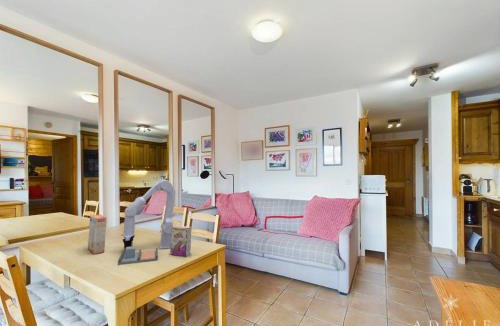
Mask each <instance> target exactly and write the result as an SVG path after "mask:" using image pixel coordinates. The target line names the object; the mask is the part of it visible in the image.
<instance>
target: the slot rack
mask: <svg viewBox="0 0 500 326" xmlns="http://www.w3.org/2000/svg"><path fill="white" fill-rule="evenodd" d="M158 253H159V248H158V247H156V248H155V250H149V251H142V249H138V252H136V251H135V257H134V258H129V259H125V253H124V251H121V253H120V255H119V258H118V261H117V265H118V266H120V265H121V266H122V265H127V264H128V265H129V264H137V263H146V262H148V263H149V262H155V261H158V260H159V259H158V258H159V254H158Z"/></svg>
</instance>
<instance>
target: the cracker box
mask: <svg viewBox="0 0 500 326" xmlns="http://www.w3.org/2000/svg"><path fill="white" fill-rule="evenodd" d="M107 219H108V218H107V216H104V215H102V214H91V215H90V216H89V227H88V239H87V240H88V241H87V250H88V251H89V252H91V254H92V255H98V254H103V253H105V248H106V247H105V246H106V244H105V243H106V235H107V234H106V233H107V232H106V230H107Z"/></svg>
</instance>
